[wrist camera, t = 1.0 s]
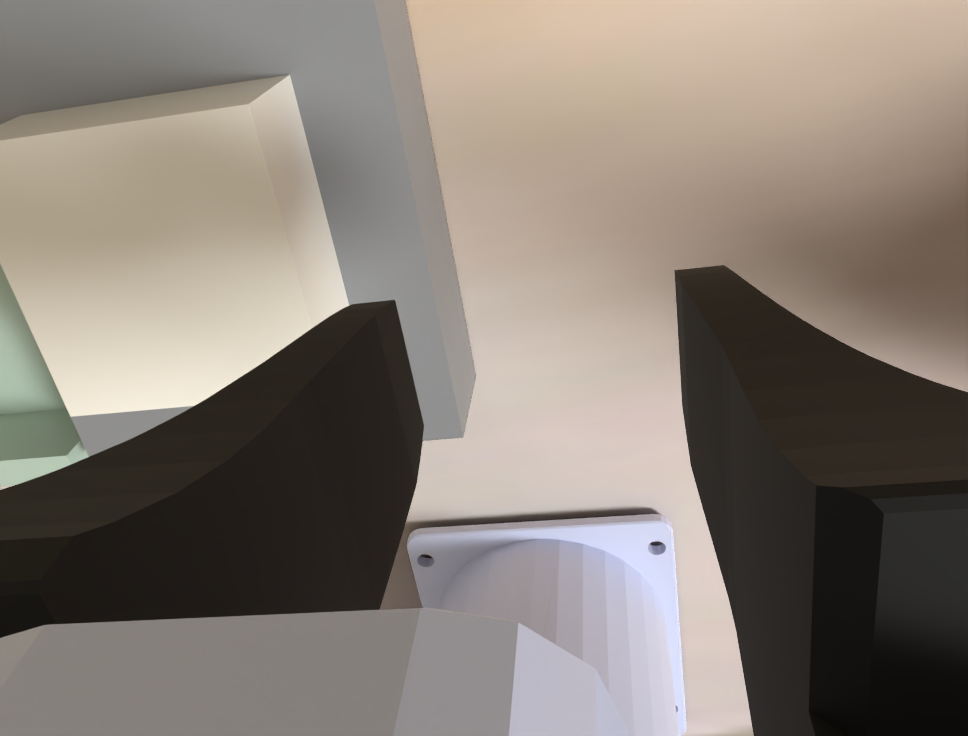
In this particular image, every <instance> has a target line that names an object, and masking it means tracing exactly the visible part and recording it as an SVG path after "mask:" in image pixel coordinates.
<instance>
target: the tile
mask: <svg viewBox="0 0 968 736" xmlns="http://www.w3.org/2000/svg"><path fill="white" fill-rule="evenodd" d="M0 264H1V266H2V268H3V271H4V273H5V275H6V277H7V279H8V282H9V284H10V286H11V288H12V290H13V292H14V295H15V297H16V299H17V301H18V303H19V306H20V308H21V310H22V312H23V314H24V316H25V319H26V321H27V323H28V325H29V327H30V330H31V332H32V334H33V336H34V338H35V340H36V343H37V345H38V347H39V349H40V351H41V354H42V356H43V358H44V360H45V362H46V364H47V367H48V369H49V371H50V373H51V375H52V378H53V380H54V382H55V384H56V386H57V388H58V391H59V393H60V395H61V397H62V399H63V402H64V404H65V406H66V408H67V410H68V412H69V415H70V417H74V416H85V415H97V414H108V413H119V412H131V411H142V410H153V409H165V408H176V407H187V406H195V405H197V404H198V403H200V402H202V401H204V400H205V399H207V398H209V397H210V396H212V395H213V394H215V393H216V392H218V391H220V390H221V389H223V388H224V387H226V386H227V385H229V384H230V383H232V382H234V381H235V380H237V379H238V378H240V377H241V376H243V375H245V374H246V373H248V372H249V371H251V370H252V369H254V368H255V367H257V366H259V365H260V364H262V363H263V362H265V361H266V360H267V359H269V358H270V357H272V356H273V355H275V354H276V353H277V352H279V351H280V350H282V349H283V348H285V347H286V346H287V345H289V344H290V343H292V342H293V341H295V340H296V339H297V338H299V337H300V336H302V335H303V334H305V333H306V332H307V331H309V330H310V329H312V328H313V327H315V326H316V325H317V324H319V323H320V322H322V321H323V320H325V319H326V318H328V317H329V316H331V315H333V314H334V313H336V312H337V311H339V310H341V309H343V308H345V307H347V306H349V303H348V299H347V295H346V291H345V287H344V283H343V279H342V275H341V272H340V268H339V264H338V260H337V256H336V252H335V248H334V244H333V240H332V237H331V233H330V229H329V225H328V221H327V217H326V213H325V209H324V205H323V202H322V198H321V194H320V190H319V186H318V182H317V178H316V174H315V170H314V167H313V163H312V159H311V155H310V151H309V147H308V143H307V139H306V135H305V132H304V128H303V124H302V120H301V116H300V112H299V108H298V104H297V101H296V97H295V93H294V89H293V85H292V81H291V77H290V75H284V76H277V77H271V78H264V79H257V80H251V81H244V82H238V83H231V84H224V85H218V86H211V87H205V88H198V89H191V90H185V91H178V92H171V93H165V94H158V95H152V96H145V97H138V98H132V99H125V100H119V101H112V102H105V103H99V104H92V105H86V106H79V107H72V108H66V109H59V110H52V111H46V112H39V113H33V114H26V115H21V116H18V117H16V118H14V119H12V120H10V121H7V122H5V123H3V124H1V125H0Z"/></svg>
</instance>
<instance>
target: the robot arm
mask: <svg viewBox="0 0 968 736" xmlns="http://www.w3.org/2000/svg"><path fill="white" fill-rule="evenodd" d="M675 284H676V302H677V319H678V337H679V354H680V372H681V390H682V406H683V413H684V420H685V427H686V434H687V441H688V448H689V455H690V462H691V467H692V471H693V474H694V478H695V481H696V485H697V489H698V492H699V496H700V499H701V503H702V506H703V510H704V513H705V517H706V520H707V524H708V527H709V531H710V534H711V538H712V541H713V545H714V548H715V552H716V555H717V559H718V562H719V566H720V569H721V573H722V576H723V580H724V583H725V587H726V590H727V594H728V597H729V601H730V605H731V610H732V614H733V618H734V623H735V627H736V632H737V637H738V643H739V649H740V655H741V661H742V667H743V673H744V679H745V685H746V691H747V696H748V702H749V709H750V715H751V721H752V727H753V733H754V736H968V392H965V391H961V390H958V389H955V388H952V387H948V386H945V385H942V384H939V383H936V382H933V381H930V380H927V379H925V378H922V377H919V376H916V375H914V374H911V373H908V372H906V371H904V370H901V369H899V368H897V367H894V366H892V365H889V364H887V363H885V362H882V361H880V360H878V359H875V358H873V357H870V356H868V355H866V354H864V353H862V352H860V351H858V350H856V349H854V348H852V347H850V346H848V345H846V344H844V343H842V342H840V341H839V340H837V339H835V338H833V337H831V336H829V335H828V334H826V333H824V332H822V331H820V330H819V329H817V328H815V327H813V326H812V325H810V324H808V323H807V322H805V321H803V320H802V319H800V318H799V317H797V316H795V315H794V314H792V313H791V312H789V311H788V310H786V309H785V308H783V307H782V306H780V305H779V304H777V303H776V302H774V301H773V300H772V299H770V298H769V297H767V296H766V295H764V294H763V293H762V292H760V291H759V290H757V289H756V288H755V287H753V286H752V285H751V284H749V283H748V282H747V281H745V280H744V279H742V278H741V277H740V276H738V275H737V274H736V273H734V272H733V271H732V270H730V269H729V268H727V267H726V266H724V265H722V266H713V267H703V268H693V269H684V270H675ZM423 431H424V423H423V418H422V414H421V410H420V405H419V401H418V397H417V392H416V388H415V384H414V379H413V375H412V371H411V366H410V362H409V358H408V353H407V349H406V345H405V340H404V336H403V332H402V327H401V323H400V319H399V314H398V310H397V306H396V301H395V300H388V301H378V302H368V303H359V304H352V305H349V306H347V307H345V308H343V309H341V310H339V311H337V312H336V313H334V314H333V315H331V316H329V317H328V318H326V319H325V320H323V321H322V322H320V323H319V324H317V325H316V326H315V327H313V328H312V329H310V330H309V331H307V332H306V333H305V334H303V335H302V336H300V337H299V338H297V339H296V340H295V341H293V342H292V343H290V344H289V345H287V346H286V347H285V348H283V349H282V350H280V351H279V352H277V353H276V354H275V355H273V356H272V357H270V358H269V359H267V360H266V361H265V362H263V363H262V364H260V365H259V366H257V367H255V368H254V369H252V370H251V371H249V372H248V373H246V374H245V375H243V376H241V377H240V378H238V379H237V380H235V381H234V382H232V383H230V384H229V385H227V386H226V387H224V388H223V389H221V390H220V391H218V392H216V393H215V394H213V395H212V396H210V397H209V398H207V399H205V400H204V401H202V402H200V403H198V404H197V405H195V406H193V407H191V408H190V409H188V410H186V411H184V412H182V413H181V414H179V415H177V416H175V417H173V418H171V419H169V420H167V421H165V422H164V423H162V424H160V425H158V426H156V427H154V428H152V429H150V430H148V431H146V432H144V433H142V434H140V435H138V436H136V437H134V438H132V439H129V440H127V441H125V442H123V443H120V444H118V445H115V446H113V447H111V448H108V449H106V450H104V451H101V452H99V453H97V454H94V455H92V456H90V457H87V458H85V459H83V460H80V461H78V462H76V463H73V464H71V465H68V466H66V467H64V468H61V469H59V470H56V471H54V472H51V473H48V474H45V475H43V476H40V477H37V478H34V479H31V480H29V481H26V482H23V483H20V484H18V485H15V486H12V487H9V488H6V489H3V490H0V736H681V735H683V734H684V733H685V732H686V728H687V726H686V712H685V697H684V683H683V669H682V654H681V640H680V625H679V611H678V596H677V582H676V568H675V553H674V539H673V529H672V524H671V521H670V520H669V519H668V518H667V517H665V516H663V515H660V514H644V515H628V516H611V517H595V518H579V519H562V520H546V521H529V522H513V523H497V524H480V525H464V526H447V527H431V528H419V529H415V530H414V531H412V532H411V533H410V535H409V537H408V541H407V551H408V554H409V558H410V562H411V566H412V570H413V574H414V577H415V581H416V585H417V589H418V593H419V597H420V600H421V604H422V608H408V609H386V610H379V609H380V606H381V603H382V599H383V596H384V593H385V589H386V586H387V583H388V579H389V576H390V573H391V569H392V566H393V563H394V559H395V556H396V553H397V549H398V546H399V543H400V539H401V536H402V533H403V529H404V526H405V522H406V519H407V516H408V512H409V509H410V505H411V502H412V498H413V495H414V491H415V487H416V483H417V477H418V470H419V463H420V456H421V448H422V440H423ZM655 541H659V542H662V543H663V544H661V545H659V546H653V545H650V543H651V542H655ZM423 554H427V555H430V556H431V557H432V558H424V557H422V556H421V555H423Z"/></svg>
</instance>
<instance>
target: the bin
mask: <svg viewBox="0 0 968 736" xmlns="http://www.w3.org/2000/svg"><path fill="white" fill-rule="evenodd" d="M87 457H89V456H88V454H87V452H86V450H85V447H84V445H83V443H82V441H81V439H80V436H79V434H78V432H77V430H76V428H75V426H74V423H73V421H72V419H71V417H70V415H69V412H68V410H67V408H66V406H65V404H64V402H63V399H62V397H61V395H60V393H59V391H58V388H57V386H56V384H55V382H54V380H53V378H52V375H51V373H50V371H49V369H48V367H47V364H46V362H45V360H44V358H43V356H42V354H41V351H40V349H39V347H38V345H37V343H36V340H35V338H34V336H33V334H32V332H31V330H30V327H29V325H28V323H27V321H26V319H25V316H24V314H23V312H22V310H21V308H20V306H19V303H18V301H17V299H16V297H15V295H14V292H13V290H12V288H11V286H10V284H9V282H8V279H7V277H6V275H5V273H4V271H3V268H2V266H1V264H0V486H4V485H17V484H20V483H23V482H26V481H29V480H31V479H34V478H37V477H40V476H43V475H45V474H48V473H51V472H54V471H56V470H59V469H61V468H64V467H66V466H68V465H71V464H73V463H76V462H78V461H80V460H83V459H85V458H87Z"/></svg>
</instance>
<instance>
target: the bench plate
mask: <svg viewBox="0 0 968 736" xmlns="http://www.w3.org/2000/svg"><path fill="white" fill-rule="evenodd" d="M284 75H290V77H291V81H292V85H293V89H294V93H295V97H296V101H297V104H298V108H299V112H300V116H301V120H302V124H303V128H304V132H305V135H306V139H307V143H308V147H309V151H310V155H311V159H312V163H313V167H314V170H315V174H316V178H317V182H318V186H319V190H320V194H321V198H322V202H323V205H324V209H325V213H326V217H327V221H328V225H329V229H330V233H331V237H332V240H333V244H334V248H335V252H336V256H337V260H338V264H339V268H340V272H341V275H342V279H343V283H344V287H345V291H346V295H347V299H348V303H349V305H352V304H359V303H368V302H378V301H388V300H395V301H396V306H397V310H398V314H399V319H400V323H401V327H402V332H403V336H404V340H405V345H406V349H407V353H408V358H409V362H410V366H411V371H412V375H413V379H414V384H415V388H416V392H417V397H418V401H419V405H420V410H421V414H422V418H423V423H424V431H423V440H422V441H425V440H438V439H451V438H463V436H464V431H465V426H466V421H467V417H468V412H469V407H470V402H471V398H472V393H473V388H474V383H475V378H476V373H475V368H474V363H473V358H472V352H471V347H470V342H469V336H468V331H467V326H466V320H465V315H464V310H463V304H462V299H461V294H460V288H459V283H458V278H457V272H456V267H455V262H454V256H453V251H452V246H451V240H450V235H449V230H448V225H447V219H446V214H445V209H444V203H443V198H442V193H441V187H440V182H439V177H438V171H437V166H436V161H435V155H434V150H433V145H432V139H431V134H430V129H429V123H428V118H427V113H426V108H425V102H424V97H423V92H422V86H421V81H420V76H419V70H418V65H417V60H416V54H415V49H414V44H413V38H412V33H411V28H410V22H409V17H408V12H407V6H406V1H405V0H0V125H1V124H3V123H5V122H7V121H10V120H12V119H14V118H16V117H18V116H21V115H26V114H33V113H39V112H46V111H52V110H59V109H66V108H72V107H79V106H86V105H92V104H99V103H105V102H112V101H119V100H125V99H132V98H138V97H145V96H152V95H158V94H165V93H171V92H178V91H185V90H191V89H198V88H205V87H211V86H218V85H224V84H231V83H238V82H244V81H251V80H257V79H264V78H271V77H277V76H284ZM191 407H193V406H187V407H176V408H165V409H153V410H142V411H131V412H119V413H108V414H97V415H85V416H74V417H71V419H72V421H73V423H74V426H75V428H76V430H77V432H78V434H79V436H80V439H81V441H82V443H83V445H84V447H85V450H86V452H87V454H88V456H89V457H90V456H92V455H94V454H97V453H99V452H101V451H104V450H106V449H108V448H111V447H113V446H115V445H118V444H120V443H123V442H125V441H127V440H129V439H132V438H134V437H136V436H138V435H140V434H142V433H144V432H146V431H148V430H150V429H152V428H154V427H156V426H158V425H160V424H162V423H164V422H165V421H167V420H169V419H171V418H173V417H175V416H177V415H179V414H181V413H182V412H184V411H186V410H188V409H190V408H191Z"/></svg>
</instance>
